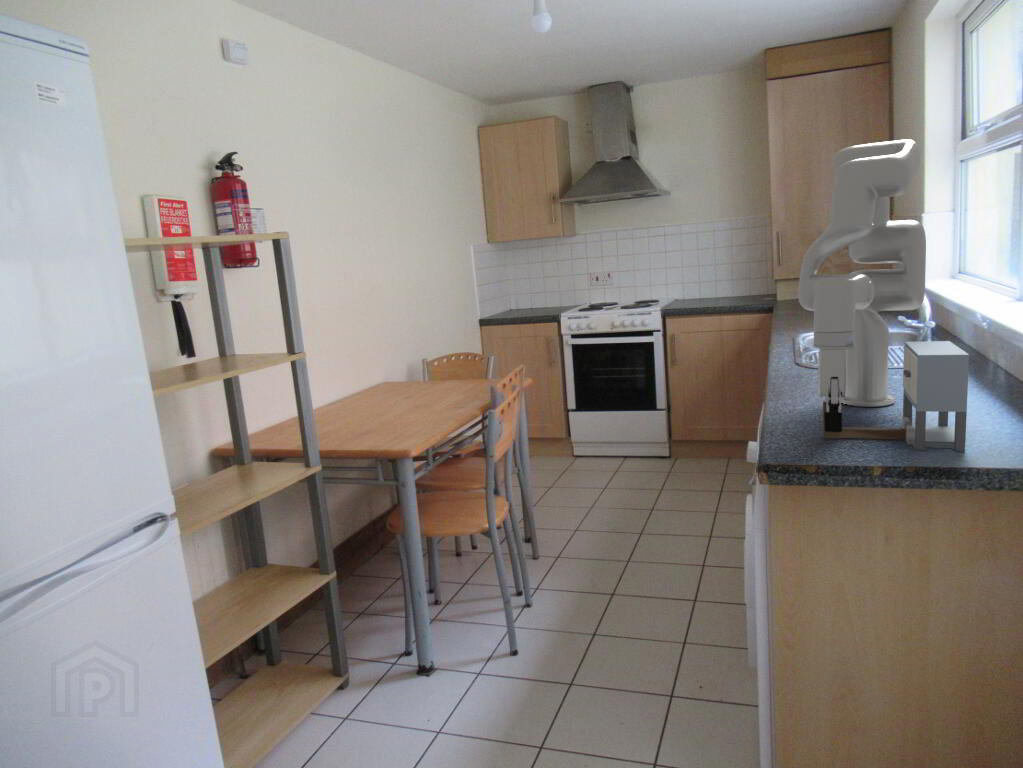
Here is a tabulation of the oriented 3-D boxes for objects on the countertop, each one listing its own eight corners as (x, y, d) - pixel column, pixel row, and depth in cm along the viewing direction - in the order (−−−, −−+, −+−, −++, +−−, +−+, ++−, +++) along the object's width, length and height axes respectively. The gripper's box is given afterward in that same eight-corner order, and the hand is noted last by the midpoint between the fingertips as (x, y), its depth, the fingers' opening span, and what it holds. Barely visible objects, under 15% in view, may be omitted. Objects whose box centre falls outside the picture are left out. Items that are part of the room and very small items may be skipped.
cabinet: (897, 427, 156) (899, 341, 153) (946, 428, 153) (949, 341, 150) (909, 450, 140) (912, 355, 137) (964, 451, 137) (969, 354, 134)
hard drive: (964, 442, 139) (952, 425, 150) (915, 441, 142) (906, 425, 153) (964, 451, 139) (952, 433, 150) (914, 449, 142) (906, 432, 153)
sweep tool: (822, 430, 158) (822, 398, 157) (907, 432, 152) (908, 398, 151) (823, 442, 149) (823, 408, 147) (914, 445, 143) (915, 409, 142)
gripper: (813, 335, 158) (812, 419, 161) (814, 345, 143) (813, 438, 146) (852, 334, 155) (850, 420, 158) (857, 345, 140) (855, 440, 143)
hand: (832, 428), depth 152 cm, fingers closed on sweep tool, 3 cm apart
